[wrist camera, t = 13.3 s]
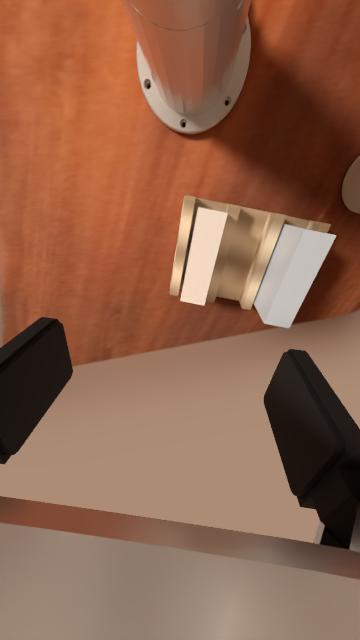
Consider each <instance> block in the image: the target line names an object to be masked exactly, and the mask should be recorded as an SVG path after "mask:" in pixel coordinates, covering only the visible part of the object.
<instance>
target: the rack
mask: <svg viewBox="0 0 360 640" xmlns="http://www.w3.org/2000/svg"><path fill="white" fill-rule="evenodd" d="M198 206H199V207H204V208H209V209H214V210H219V211H223V212H226V213H228V215H227V219H226V222H225V226H224V230H223V234H222V238H221V242H220V246H219V250H218V254H217V258H216V262H215V265H214V269H213V273H212V277H211V281H210V285H209V289H208V293H207V297H206V301H207V302H212V303H214V302H215V298H216V296H217V297H222V298H227V299H232V300H237V301H239V302H240V305H241V307H242V308H243V309H248V310H251V307H252V304H253V302H254V299H255V296H256V294H257V291H258V289H259V286H260V283H261V281H262V278H263V275H264V273H265V270H266V268H267V265H268V262H269V260H270V257H271V254H272V252H273V249H274V247H275V244H276V241H277V239H278V236H279V233H280V231H281V228H282V226H283V223H284V224H289V225H294V226H299V227H303V228H308V229H312V230H316V231H320V232H325V233H327V232H328V230H329V228H330V226H331V224H327V223H322V222H316V221H310V220H305V219H300V218H295V217H290V216H286V215H282V214H277V213H270V212H265V211H260V210H255V209H250V208H245V207H241V206H237V205H232V204H225V203H220V202H215V201H210V200H205V199H200V198H196V197H192V196H187V195H184V201H183V208H182V214H181V220H180V227H179V233H178V239H177V246H176V252H175V258H174V264H173V271H172V277H171V283H170V293H169V294H171V295H176V296H178V293H179V289H181V290H182V289H183V284H184V279H185V273H186V268H187V263H188V258H189V252H190V247H191V242H192V237H193V231H194V226H195V221H196V216H197V211H198Z"/></svg>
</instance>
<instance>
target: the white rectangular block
mask: <svg viewBox="0 0 360 640" xmlns="http://www.w3.org/2000/svg"><path fill="white" fill-rule="evenodd" d="M336 236H337V235H333V234H329V233H325V232H320V231H316V230H312V229H308V228H303V227H299V226H294V225H289V224H284V223H283V226H282V228H281V231H280V233H279V236H278V239H277V241H276V244H275V247H274V249H273V252H272V254H271V257H270V260H269V262H268V265H267V268H266V270H265V273H264V275H263V278H262V281H261V283H260V286H259V289H258V291H257V294H256V296H255V299H254V302H253V304H254V305H255V307H256V309H257V311H258V313H259V315H260V317H261V319H262V321H263V322H264V323H265V324H270V325H275V326H280V327H285V328H290V326H291V324H292V322H293V320H294V318H295V316H296V314H297V312H298V310H299V308H300V306H301V304H302V302H303V300H304V298H305V296H306V294H307V292H308V291H309V289H310V287H311V285H312V283H313V281H314V279H315V277H316V275H317V273H318V271H319V269H320V267H321V265H322V263H323V261H324V259H325V257H326V255H327V253H328V251H329V249H330V247H331V245H332V244H333V242H334V240H335V238H336Z"/></svg>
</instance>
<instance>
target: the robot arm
mask: <svg viewBox="0 0 360 640" xmlns="http://www.w3.org/2000/svg"><path fill="white" fill-rule="evenodd" d="M122 1H123V3H124V6H125V9H126V11H127V14H128V16H129V19H130V22H131V24H132V27H133V29H134V32H135V35H136V37H137V68H138V75H139V80H140V83H141V87H142V90H143V93H144V95H145V98H146V100H147V102H148V104H149V106H150V108H151V109H152V111H153V112H154V114H155V115H156V116H157V118H158V119H159V120H160V121H161V122H162V123H163V124H165V125H166V126H167V127H168V128H170V129H172V130H174V131H176V132H179V133H183V134H198V133H202V132H205V131H207V130H209V129H211V128H213V127H214V126H216V125H217V124H218V123H219V122H221V121H222V120H223V119H224V118H225V116H226V115H227V114H228V113H229V112H230V110H231V109H232V107H233V106H234V104H235V103H236V101H237V99H238V97H239V94H240V92H241V90H242V88H243V85H244V82H245V79H246V75H247V71H248V66H249V62H250V51H251V31H250V24H249V18H248V11H249V7H250V3H251V0H122ZM148 85H150V86H151V88H150V89H147V87H148ZM226 101H228V102H229V105H228V106H226V105H225V102H226ZM183 123H185V124H186V126H185V127H184V128H183V127H182V124H183ZM72 373H73V369H72V364H71V359H70V355H69V350H68V346H67V341H66V337H65V332H64V328H63V324H62V323H60V322H59V320H57V319H53V318H45V317H42V318H40V319H38V320H37V321H36V322H34V323H33V324H32V325H30V326H29V327H28V328H26V329H25V330H24V331H22V332H21V333H20V334H18V335H17V336H16V337H15V338H13V339H12V340H11V341H9V342H8V343H7V344H5V345H4V346H3V347H1V348H0V464H5V463H6V462H7V460H8V459H9V458H10V456H11V455H14V454H16V452H18V451H19V449H20V448H21V446H22V445H23V444H24V442H25V441H26V439H27V438H28V437H29V435H30V434H31V432H32V431H33V429H34V428H35V427H36V426H37V424H38V423H39V421H40V420H41V419H42V417H43V416H44V414H45V413H46V412H47V410H48V409H49V407H50V406H51V405H52V403H53V402H54V400H55V399H56V398H57V396H58V395H59V393H60V392H61V391H62V389H63V388H64V386H65V385H66V383H67V382H68V381H69V379H70V378H71V376H72ZM264 405H265V408H266V411H267V414H268V418H269V421H270V424H271V428H272V431H273V434H274V437H275V440H276V444H277V447H278V450H279V453H280V456H281V460H282V463H283V466H284V470H285V473H286V476H287V479H288V483H289V486H290V489H291V491H292V493H293V494H294V495H295V496H297V499H298V502H299V505H300V507H304V508H311V509H316V510H317V513H318V516H319V518H320V522H319V526H318V529H317V532H316V536H315V539H314V543H308V542H302V541H297V540H291V539H285V538H279V537H272V536H266V535H258V534H253V533H246V532H239V531H233V530H227V529H220V528H213V527H207V526H200V525H194V524H187V523H181V522H174V521H167V520H160V519H154V518H146V517H140V516H133V515H126V514H120V513H113V512H106V511H99V510H93V509H86V508H79V507H72V506H65V505H58V504H51V503H44V502H37V501H30V500H23V499H16V498H8V497H2V496H0V640H360V429H359V427H358V426H357V424H356V423H355V422H354V420H353V419H352V417H351V416H350V414H349V413H348V411H347V410H346V409H345V407H344V406H343V404H342V403H341V401H340V400H339V398H338V397H337V395H336V394H335V392H334V391H333V389H332V388H331V387H330V385H329V384H328V382H327V381H326V379H325V378H324V376H323V375H322V373H321V372H320V371H319V369H318V368H317V366H316V365H315V364H314V362H313V360H312V359H311V357H310V356H309V354H308V353H307V352H306V351H301V350H294V349H289V350H288V351H287V352H284V353H283V355H282V357H281V359H280V362H279V364H278V366H277V368H276V370H275V373H274V375H273V377H272V379H271V382H270V384H269V386H268V388H267V391H266V393H265V395H264Z"/></svg>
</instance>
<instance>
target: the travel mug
mask: <svg viewBox="0 0 360 640" xmlns="http://www.w3.org/2000/svg"><path fill="white" fill-rule="evenodd" d="M342 198H343V201H344V204H345V205H346V207H347V208H348V209H349V210H351V211H353V212H355V213H359V214H360V156H359V157H358V158H357V159H356V160H355V161H354V162H353V163H352V165H351V166H350V168H349V169H348V171H347V173H346V175H345V178H344V181H343V185H342Z"/></svg>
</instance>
